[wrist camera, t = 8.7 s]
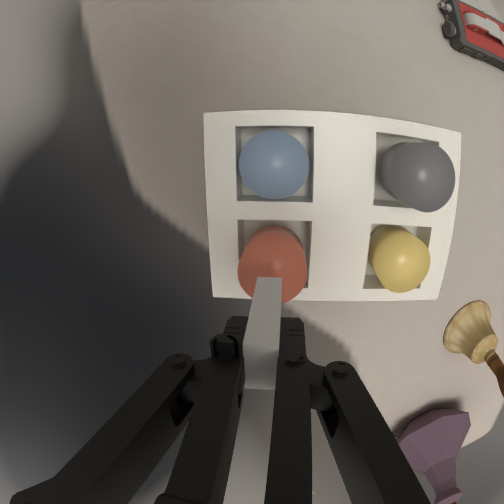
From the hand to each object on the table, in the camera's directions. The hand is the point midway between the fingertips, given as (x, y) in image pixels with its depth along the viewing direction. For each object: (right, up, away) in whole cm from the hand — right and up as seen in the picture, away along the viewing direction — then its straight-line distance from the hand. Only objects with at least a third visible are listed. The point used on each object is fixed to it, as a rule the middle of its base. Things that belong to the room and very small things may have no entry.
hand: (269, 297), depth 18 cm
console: (+7, +7, +8) cm, 13 cm away
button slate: (+1, +10, +6) cm, 12 cm away
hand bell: (+28, -7, +11) cm, 31 cm away
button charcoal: (+12, +9, +3) cm, 15 cm away
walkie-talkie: (+22, +28, -1) cm, 36 cm away
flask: (+30, -28, +19) cm, 45 cm away
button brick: (+1, +3, +6) cm, 7 cm away
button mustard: (+12, +3, +7) cm, 14 cm away
